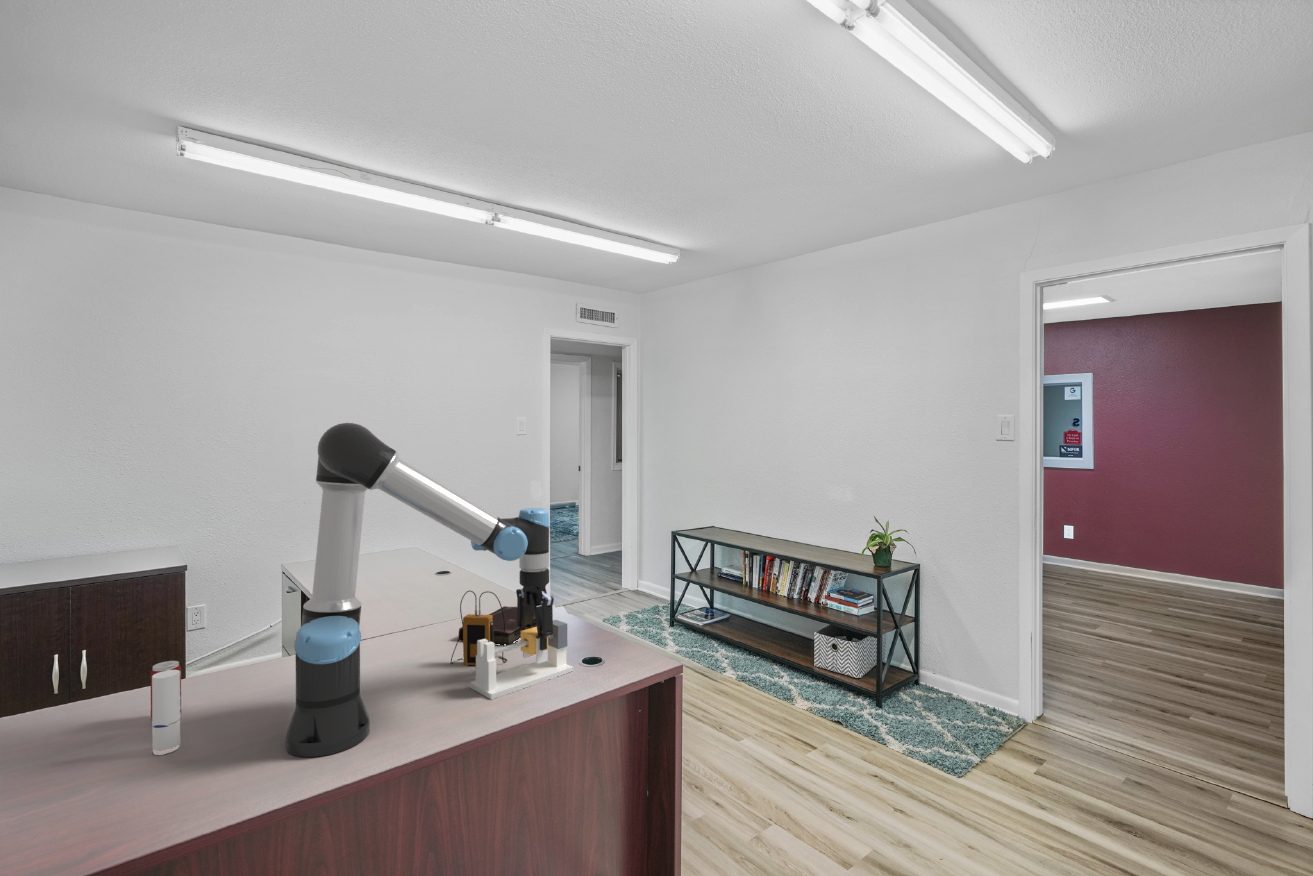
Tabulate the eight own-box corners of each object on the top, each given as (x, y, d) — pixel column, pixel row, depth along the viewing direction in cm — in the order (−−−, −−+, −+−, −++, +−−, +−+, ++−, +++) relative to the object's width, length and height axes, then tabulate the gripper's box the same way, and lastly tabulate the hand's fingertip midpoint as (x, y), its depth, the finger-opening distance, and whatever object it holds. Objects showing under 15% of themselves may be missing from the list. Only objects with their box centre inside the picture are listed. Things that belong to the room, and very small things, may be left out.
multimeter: (514, 653, 175) (514, 583, 175) (502, 667, 165) (502, 592, 165) (464, 652, 177) (464, 582, 177) (449, 665, 167) (449, 591, 167)
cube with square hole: (531, 655, 156) (531, 635, 156) (520, 650, 159) (520, 630, 159) (548, 650, 159) (548, 630, 159) (536, 645, 163) (536, 626, 163)
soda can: (145, 725, 132) (145, 669, 132) (158, 715, 137) (157, 661, 137) (174, 722, 134) (174, 667, 134) (185, 712, 139) (185, 658, 139)
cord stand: (491, 699, 145) (491, 648, 145) (470, 687, 152) (469, 638, 152) (573, 671, 162) (573, 625, 162) (550, 661, 169) (550, 617, 169)
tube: (177, 742, 125) (176, 668, 125) (183, 749, 122) (182, 673, 122) (150, 750, 122) (149, 674, 122) (155, 757, 119) (155, 680, 119)
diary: (457, 643, 186) (457, 626, 186) (502, 619, 210) (502, 605, 210) (512, 648, 181) (512, 631, 181) (552, 623, 205) (551, 608, 205)
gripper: (567, 571, 156) (568, 664, 156) (526, 561, 168) (527, 647, 168) (542, 576, 150) (543, 672, 150) (502, 565, 163) (502, 653, 163)
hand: (534, 658), depth 159 cm, fingers open, 5 cm apart
